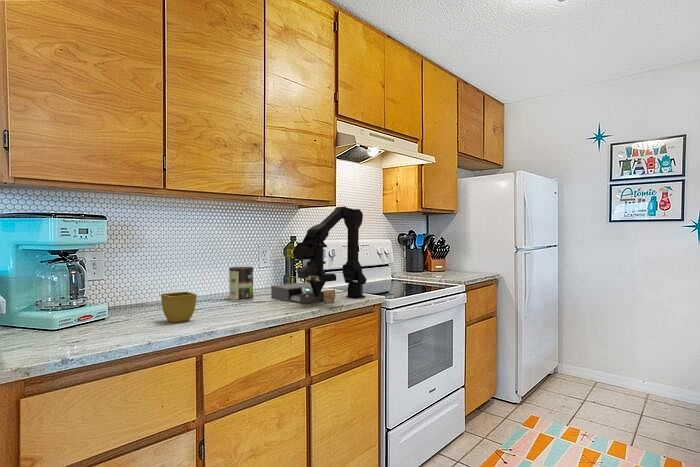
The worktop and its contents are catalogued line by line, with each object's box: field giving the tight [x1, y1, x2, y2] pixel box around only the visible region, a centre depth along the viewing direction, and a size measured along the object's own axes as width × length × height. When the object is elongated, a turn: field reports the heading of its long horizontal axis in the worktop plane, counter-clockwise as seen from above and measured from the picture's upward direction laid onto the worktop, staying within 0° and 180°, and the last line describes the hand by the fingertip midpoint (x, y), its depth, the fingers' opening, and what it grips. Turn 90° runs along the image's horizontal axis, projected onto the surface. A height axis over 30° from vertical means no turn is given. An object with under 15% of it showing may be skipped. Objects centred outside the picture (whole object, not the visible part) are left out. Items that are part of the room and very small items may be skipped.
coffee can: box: [228, 266, 254, 303], centre depth 174 cm, size 10×10×14 cm
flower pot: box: [160, 291, 198, 324], centre depth 132 cm, size 9×9×9 cm
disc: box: [301, 285, 313, 294], centre depth 173 cm, size 7×7×2 cm
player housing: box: [270, 281, 311, 303], centre depth 179 cm, size 18×14×6 cm
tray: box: [289, 289, 336, 305], centre depth 172 cm, size 18×13×4 cm
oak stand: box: [323, 289, 335, 304], centre depth 167 cm, size 4×4×5 cm
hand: (316, 297), depth 162 cm, fingers closed
